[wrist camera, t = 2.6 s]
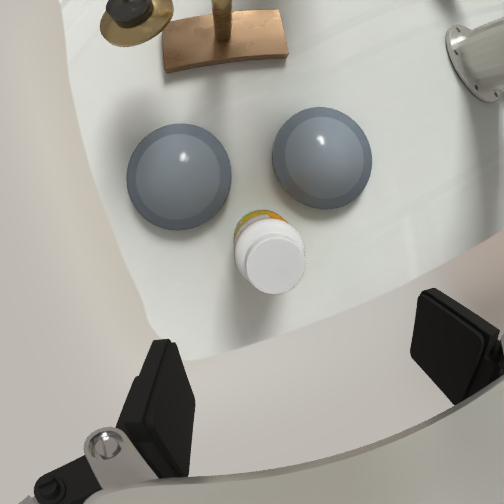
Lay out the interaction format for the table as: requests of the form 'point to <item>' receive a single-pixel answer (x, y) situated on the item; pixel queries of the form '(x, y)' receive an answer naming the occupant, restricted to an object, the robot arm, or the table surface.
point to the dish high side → (322, 158)
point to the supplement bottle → (269, 252)
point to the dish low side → (178, 176)
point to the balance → (196, 32)
